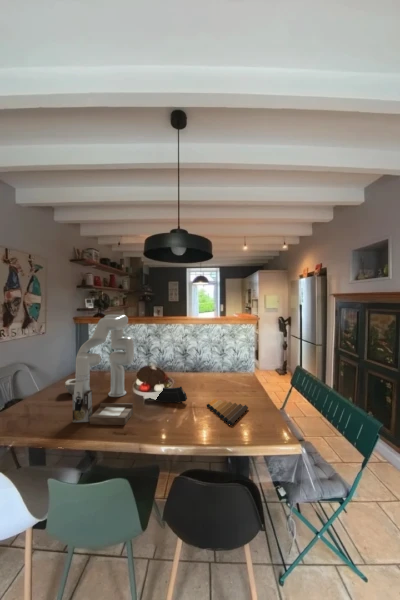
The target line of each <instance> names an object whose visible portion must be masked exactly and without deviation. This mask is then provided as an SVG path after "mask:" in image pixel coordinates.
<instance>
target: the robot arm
mask: <svg viewBox="0 0 400 600" xmlns="http://www.w3.org/2000/svg"><path fill="white" fill-rule="evenodd" d="M128 323H129V317H128V316H127V315H125V314H106V315H104V317H102V318H100V319H99V320H98V322H97V324H96V326H95V330H94V332H93V334H92V336H91V337H90V338H88V340H86V341H85V342H84V343H83V344H81V346H80V348H79V349H78V351H77V354H76V358H75V378H74V379H75V381H76V382H75V387H74V402H75V411H81V400H82V399H83V398H84V394H85V393H86V392H87V391H89V390H91V387H90V382H89V380H90V379H91V377H90V376H91V373H90V372H91V370H90V369H91V367H96V366H98V365H99V364H100V363H101V361H102V357H101V355H100V354H98V353H92V352H91V353H90V352H89V351H90V350H91V349H92V348H94V347H97V346H99V345H102V344H104V343H105V342H106V341H107V337H108V335H109V333H110V344H111V349H113V350H115V351H112V352H111V353H109V364H110V391H109V392H108V396H109V397H111V398H119V397H123V396H125V395H127V391H126V390H125V367H124V366H130V365H133V363H134V359H135V356H134V354H135V351H134V349H135V347H134V340H133V338H131V337H130V336H124V330H123V328H125V327H126V326H128ZM78 397H81V398H78ZM78 400H79V401H78Z"/></svg>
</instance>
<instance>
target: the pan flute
mask: <svg viewBox="0 0 400 600" xmlns="http://www.w3.org/2000/svg"><path fill="white" fill-rule="evenodd" d="M207 407H209V411H212V410H213V411H212V413H213V412H215V413H214V414H215V415H216V416H217V415H219V416H218V417H219V419H221V418H223V419H222V420H223V422H224V421H227V422H226V425H228V424H230V425H232V426H233V425H234V424H235V423H236V422H237V421H238V420H239V419H240V418H241V417H242V416H243V415H244V414H245V413H246V412H247V411H248V410H249V406H248V405H246V404H244V405H242V404H241V403H239V404H237V403H236V402H234V403H232V402H231V401H229V402H228V401H227V400H224V401H223V400H222V399H219V400H218V399H217V398H214V399H213V400H210V402H208V403H207V404H206V408H207ZM247 409H248V410H247ZM246 410H247V411H246ZM245 411H246V412H245ZM244 412H245V413H244ZM243 413H244V414H243ZM242 414H243V415H242ZM241 415H242V416H241ZM240 416H241V417H240ZM239 417H240V418H239ZM238 418H239V419H238ZM237 419H238V420H237ZM236 420H237V421H236ZM235 421H236V422H235ZM234 422H235V423H234ZM230 425H229V426H230Z"/></svg>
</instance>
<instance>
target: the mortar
mask: <svg viewBox="0 0 400 600" xmlns="http://www.w3.org/2000/svg"><path fill="white" fill-rule="evenodd" d="M75 382H76V381H75V378H69V379H67V380H66V381H65V382H64V386H65V389H66V390H67V392H68V393H69V394H70V395H73V394H74V387H75ZM90 382H91V381H90V380H89V383H90Z"/></svg>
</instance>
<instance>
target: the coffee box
mask: <svg viewBox="0 0 400 600" xmlns="http://www.w3.org/2000/svg"><path fill="white" fill-rule="evenodd" d="M71 395H72V394H71ZM78 398H81V397H78ZM78 401H79V400H78ZM92 414H93V390H91V389H90V390H89V391H87V392H86V393H85V394H84V398H83V399H82V400H81V411H75V402H74V394H73V395H72V423H90V416H91V415H92Z"/></svg>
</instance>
